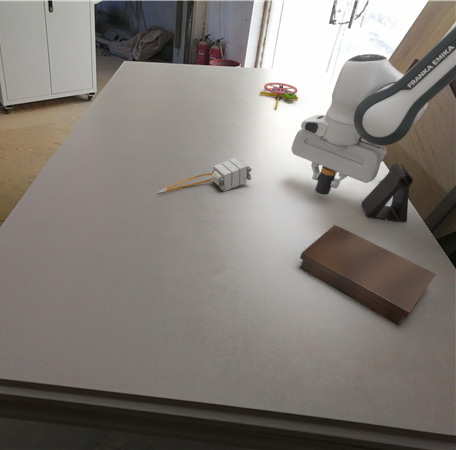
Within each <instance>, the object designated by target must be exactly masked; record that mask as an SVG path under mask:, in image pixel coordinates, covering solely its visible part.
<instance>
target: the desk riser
mask: <svg viewBox="0 0 456 450" xmlns="http://www.w3.org/2000/svg"><path fill="white" fill-rule="evenodd" d="M299 259H300V260H301V261H302V262H301V264H300V267H299V268H300V269H301V270H303V271H305V272H306V273H308V274H310V275H312V276H313V275H314V276H313V277H315V278H317V279H318V278H319V279H318V280H320V281H322V282H323V283H325V284H327V285H328V286H331V287H332V288H334V289H336V290H337V291H339V292H340V293H342V294H344V295H346V296H348V297H349V298H351V299H353V300H354V301H356V302H358V303H360V304H361V305H363V306H365V307H366V308H368V309H370V310H372V311H374V312H375V313H377V314H378V315H381V316H383V317H384V318H386V319H387V320H389V321H391V322H393V323H394V324H396V325H399V324H400V322H401V321H402V319H403V318H405V319H408V318H407V317H408V316H409V315H410V313H411V312H412V310H413V309H414V308H415V306H416V305H417V303H418V302H419V300H420V299H421V297H422V295H424V293H425V291H426V290H427V288H428V287H429V286H430V284H431V282H432V281H433V279H434V278H435V276H436V275H437V274H436V273H435V272H433V271H432V270H429V269H427V268H425V267H423V266H421V265H419V264H417V263H414V262H413V261H411V260H408V259H406V258H404V257H403V256H401V255H398V254H397V253H395V252H392V251H391V250H388V249H386V248H384V247H382V246H380V245H378V244H376V243H375V242H371V241H370V240H368V239H365V238H364V237H361V236H359V235H357V234H355V233H353V232H351V231H349V230H347V229H345V228H343V227H341V226H339V225H337V224H334V225H332V226H331V227H330V228H328V229H327V231H325V232H324V233H323V234H322V235H320V236H319V237H318V238H317V239H316V240H315V241H314V242H312V243H311V244H310V245H309V246H308V247H306V248H305V249H304V250H303V251H302V252H301V254H300V256H299Z"/></svg>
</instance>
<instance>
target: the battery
mask: <svg viewBox="0 0 456 450" xmlns="http://www.w3.org/2000/svg"><path fill="white" fill-rule="evenodd" d="M320 172H321V173H320V176H319V179H318V181H317V182H316V186H315V189H314V191H315V192H316V193H317V194H319V195H322V196H327V195H329V194H330V192H331V189H332V187H331V186H330V184H331V181H332V180H334V179H335V178H336V175H337V173H338V172H337V171H334V170H332V169H329V168H327V167H324V166H321V170H320Z"/></svg>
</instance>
